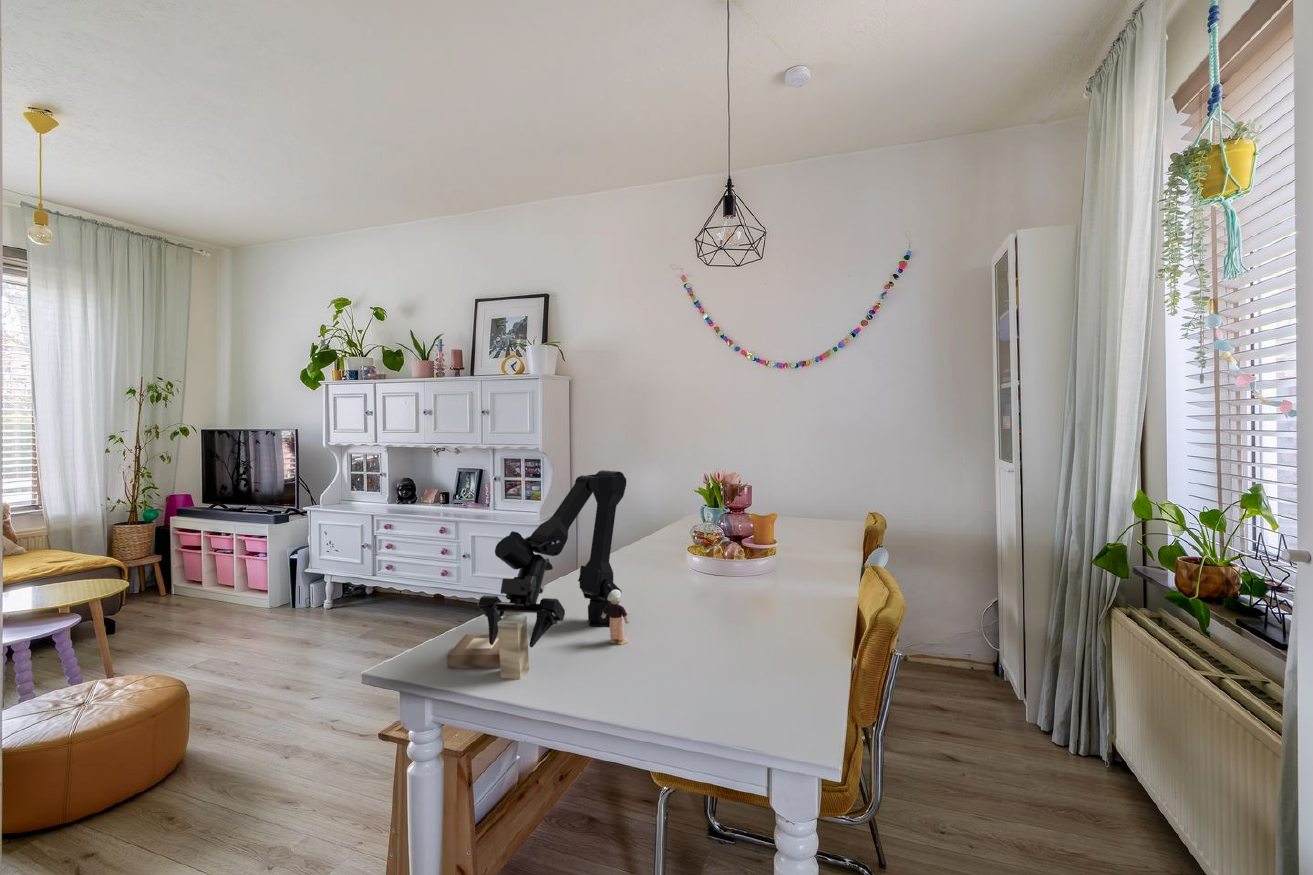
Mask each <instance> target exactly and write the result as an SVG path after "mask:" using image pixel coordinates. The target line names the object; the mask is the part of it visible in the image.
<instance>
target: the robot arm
mask: <svg viewBox="0 0 1313 875" xmlns="http://www.w3.org/2000/svg"><path fill="white" fill-rule="evenodd" d="M626 487H627V477H626V476H625V475H624V473H623V472H621V471H616V470H604V469H601V470H599V471H598V472H596V473H595V474H587V475H583V474H582V475H579V476H577V478H575V481H574V484H573V486H572V488H570V490H569V491H568V493H567V494H566V496H565V497H564V498H563V500H562V501H561V503H560V505H559V506H558V507H557V509H556V510H555V511H554V513H553V514H552V516H551V517H549V519H547V520H546V521H544V522H543V523H541V524H539V526H537V528H536V529H535V530H534V531H533V532H532V534H531V535H530V536H527V537H526V538H524V537H523V536H522V535H521V533H519V532H518V531H513V530H511V531H510V534H509V535H506V536H504V537H503V538H502V539H501V540H500V541H498V542H497V544H496V546H495V548H494V549H495V550H494V554H495V556H496V557H497V558H498V559H499V560H501V561H502V562H503V563H505V564H506V565H508V566H509V567H510V568H511V569H513V570H518V573H517V576H514V577H513V578H502V580H501V588H500V594H501V595H505V598H506V600H508V601H509V602H507V601H502V600H501V599H500V598H499V597H498V595H482V596H481V597H480V598H478V602H477V605H476V607H477V608H478V609H479V610H480V611H481V613H482V614H483V615H484V617H486V618H487V622H488V634H489V643H490V644H491V645H493V643H494V642H495V640H496V637H497V634H498V624H497V622H498V621H500V620H501V619H502V618H503V616H504V614H505V612H509V613H511V612H512V613H513V612H514V613H527V614H529V613H531V614H532V613H533V614H536V620H535V624H534V627H533V630H532V634H531V635H530V640H529V643H528V647H530V648H533V647H534V646H535V645H536V643H538V641H539V640H540V639H541V638H542V637H543V635H544V634H545V633H546V632H547V631H548V630H549V629H550V628H551V627H552V626H553V625H557V623H558V622H563V621H564V618H565V614H566V610H565V608H564V607H563V605H562V603H561V602H560V600H559V599H558V598H546V597H545V598H544V597H542V599H540V601H539V602H540V603H537V602H538V598H539V596H540V595H541V594H543V593H542V588H541V585H543V584H542V583H543V580H544V577H545V573H546V571H552V570H553V564H552V563H551V562H550V559H549V558H545V557H543V556H542V555H545V556H550V557H556V556H558V555H560V553H562V552H563V550H564V548H565V545H566V543H567V541H568V540H569V529H570V527H571V526H572V524H573V523H574V521H575V520H576V518H577V517H578V516H579V514H580V513H581V511H582V509H583V508H584V507H585V505H586V503H587V502H588V500H589V499H590V497H591V496H592V494H593V496H594V499H595V501H596V511H595V518H594V519H595V521H594V526H593V535H592V540H591V548H590V549H591V550H590V556H589V560H588V561H587V563H586V564H585V565H581V566H580V568H579V577H578V580H577V581H578V582H579V589H580V590H581V592H582V594H583V597H584V599H589V603H588V605H587V617H588V619H587V621H588V622H589V623H588V625H589V627H610V614H606V617H605V618H602V617H601V616H602V613H603V609H604V608H605V607H606V606H608V605H610V604H612V603H611V602H610V601H608V599H607V598H608V595H609V593H610V592H611V591H612V590H615V589H617V590H620V592H621V593H622V589H620V588H619V587H618V586H617V585H616V583H614V570H613V568H612V565H611V563H610V557H611V552H612V551H611V550H612V541H613V536H614V534H613V533H614V525H615V520H616V511H617V507H618V505H619V504H620V502H621V500H622V499H623V498H624V495H625V491H626ZM535 553H536V554H535ZM538 595H539V596H538Z"/></svg>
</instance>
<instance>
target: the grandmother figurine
mask: <svg viewBox="0 0 1313 875" xmlns="http://www.w3.org/2000/svg"><path fill="white" fill-rule="evenodd" d="M620 590H621V589H620ZM620 590H617V589H615V590H612V591H611V592H610V593H609V595H608V598H607V599H608V601H610V602H611V603H612V604H610V605H608V606H606V607H605V608H604V609H603V613H602V616H601V617H602V618H605V617H606V614H610V626H609V634H610V640H609V644H616V643H618V645H619V646H620V645H621V646H622V645H625V644H628V643H629V640H628V639H627V638H626V637H625V631H624V630H625V629H624V628H625V627H624V623H625V624H630V620H629V617H628V613H627V611H626V609H625V607H623V606H622V605H620V603H621V602H622V601H621V600H622V592H620ZM617 641H618V642H617ZM615 642H616V643H615Z"/></svg>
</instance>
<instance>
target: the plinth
mask: <svg viewBox="0 0 1313 875" xmlns="http://www.w3.org/2000/svg"><path fill="white" fill-rule="evenodd" d="M446 662H447V669H500V654H499V636H498V634H497V637H496V640H495V642H494V643H493V645H491V644H490V643H489V633H487V634H486V633H478V634H465V635H464V636H463V637H461V639H460V640H459V641H458V643H456V645H454V646H453V648H452V649H451V650H450V651H448V654H446Z"/></svg>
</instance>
